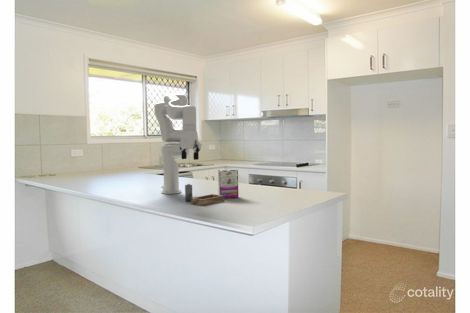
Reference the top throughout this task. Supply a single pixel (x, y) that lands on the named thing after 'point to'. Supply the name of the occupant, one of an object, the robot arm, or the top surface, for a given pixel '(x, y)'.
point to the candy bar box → (228, 183)
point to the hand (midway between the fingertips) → (190, 159)
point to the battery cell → (188, 193)
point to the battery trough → (207, 199)
